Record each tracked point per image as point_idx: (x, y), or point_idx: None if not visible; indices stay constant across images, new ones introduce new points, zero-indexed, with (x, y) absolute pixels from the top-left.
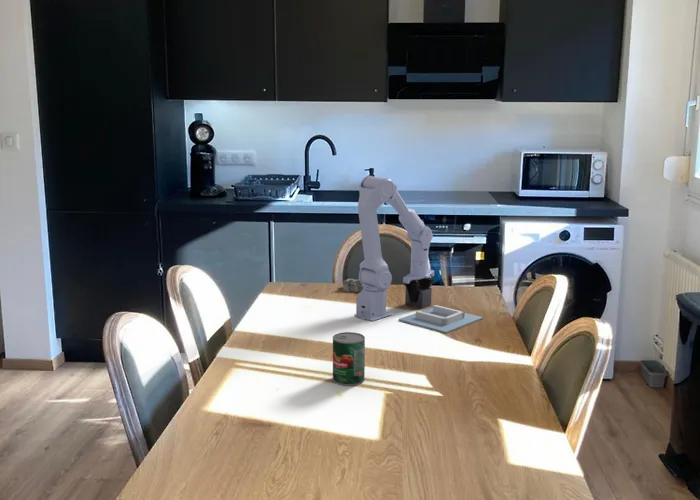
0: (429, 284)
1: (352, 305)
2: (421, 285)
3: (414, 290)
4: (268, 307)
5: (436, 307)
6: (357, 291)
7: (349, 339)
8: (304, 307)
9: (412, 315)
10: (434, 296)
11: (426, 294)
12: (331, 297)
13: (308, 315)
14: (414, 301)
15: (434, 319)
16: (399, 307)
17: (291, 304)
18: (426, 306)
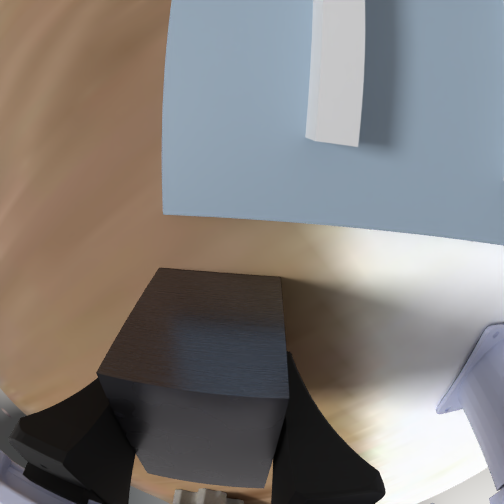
0: (81, 421)
1: (393, 460)
2: (127, 449)
3: (336, 440)
4: (455, 482)
5: (357, 102)
6: (238, 500)
7: None
8: (444, 473)
9: (491, 227)
10: (30, 334)
11: (206, 349)
12: None
13: None
14: (292, 362)
15: None
16: (338, 381)
17: (427, 487)
18: (219, 276)
